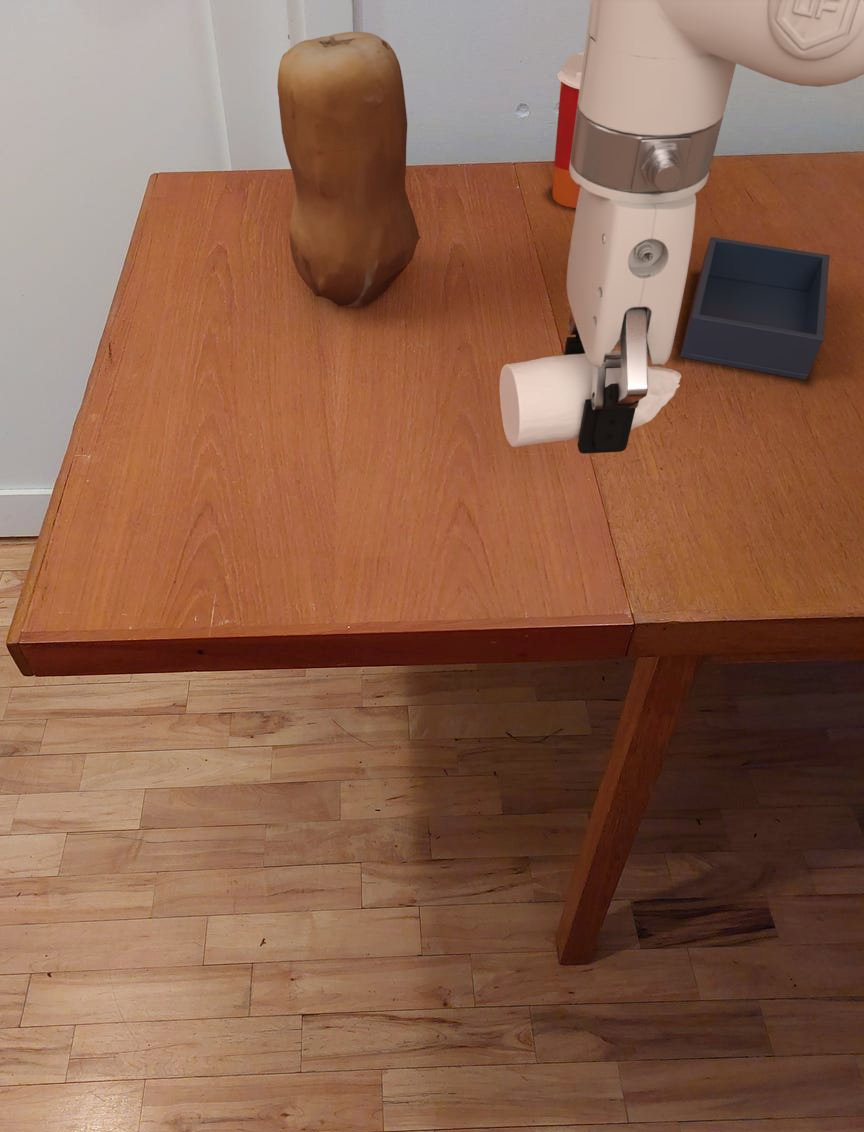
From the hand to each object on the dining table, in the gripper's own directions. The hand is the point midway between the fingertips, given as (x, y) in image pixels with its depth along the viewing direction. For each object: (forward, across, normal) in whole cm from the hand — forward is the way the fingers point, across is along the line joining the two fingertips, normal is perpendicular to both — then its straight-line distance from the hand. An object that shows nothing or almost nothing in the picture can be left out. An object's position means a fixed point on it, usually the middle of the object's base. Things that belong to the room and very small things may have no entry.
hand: (591, 415), depth 62 cm
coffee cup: (+15, +63, -12) cm, 65 cm away
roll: (+1, 0, 0) cm, 1 cm away
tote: (+15, +33, -25) cm, 44 cm away
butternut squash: (+14, +41, +16) cm, 46 cm away
